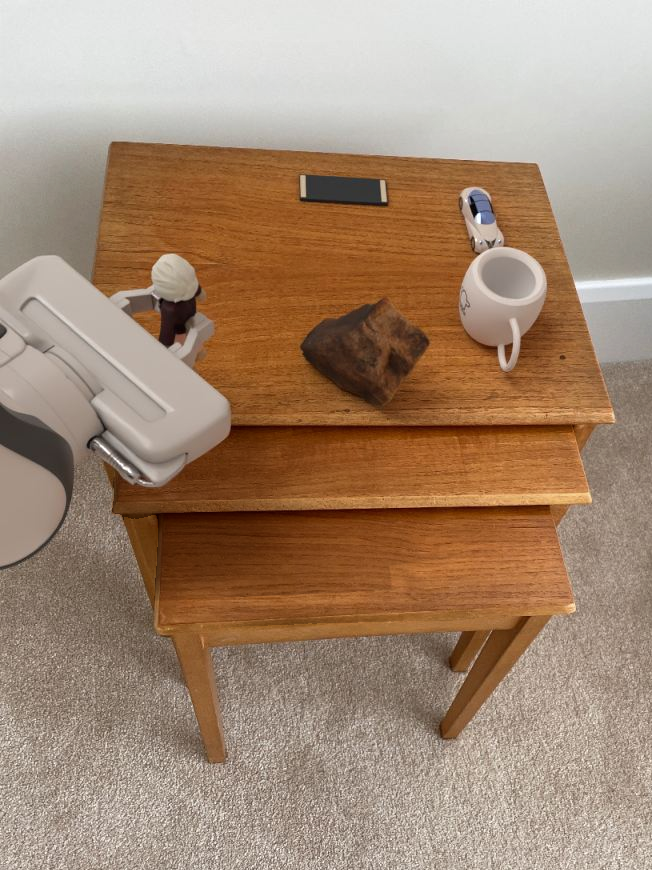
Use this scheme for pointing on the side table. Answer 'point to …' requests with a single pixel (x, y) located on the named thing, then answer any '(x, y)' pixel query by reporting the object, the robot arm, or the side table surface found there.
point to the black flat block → (343, 190)
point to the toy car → (480, 219)
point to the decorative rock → (367, 350)
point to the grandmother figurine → (177, 299)
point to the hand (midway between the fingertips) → (188, 305)
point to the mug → (502, 299)
